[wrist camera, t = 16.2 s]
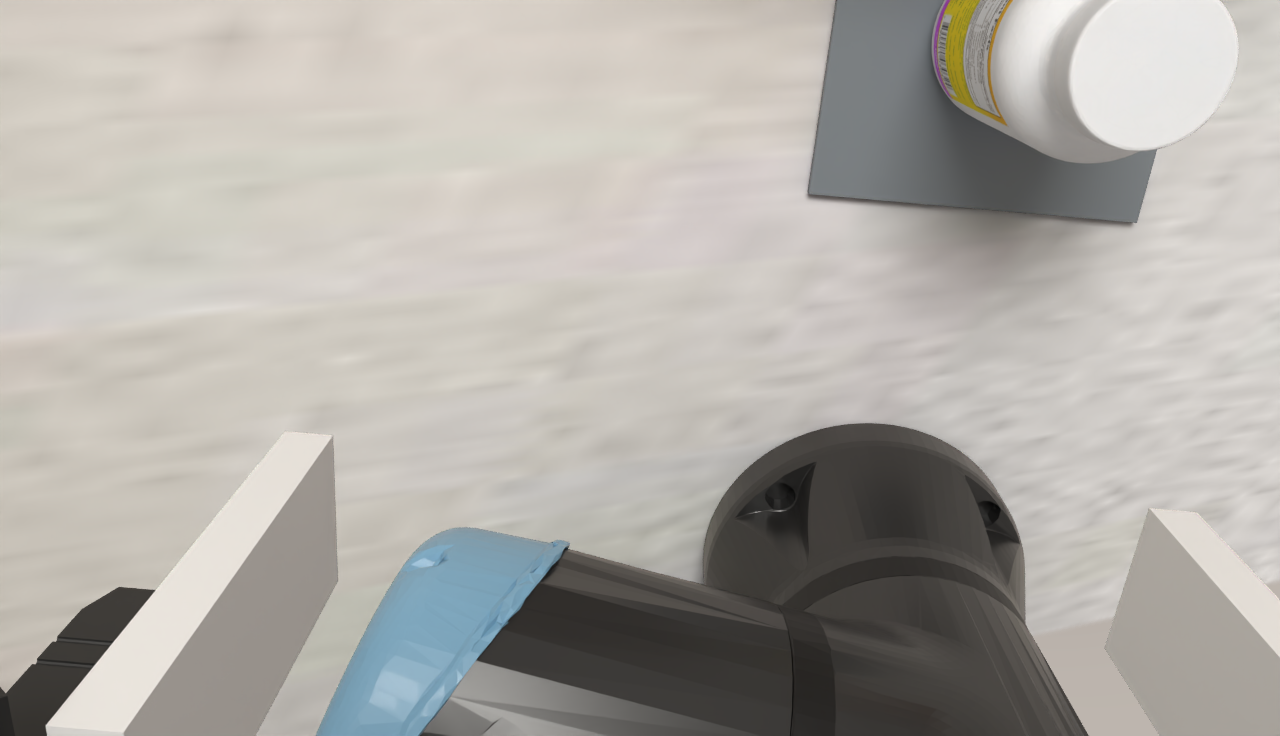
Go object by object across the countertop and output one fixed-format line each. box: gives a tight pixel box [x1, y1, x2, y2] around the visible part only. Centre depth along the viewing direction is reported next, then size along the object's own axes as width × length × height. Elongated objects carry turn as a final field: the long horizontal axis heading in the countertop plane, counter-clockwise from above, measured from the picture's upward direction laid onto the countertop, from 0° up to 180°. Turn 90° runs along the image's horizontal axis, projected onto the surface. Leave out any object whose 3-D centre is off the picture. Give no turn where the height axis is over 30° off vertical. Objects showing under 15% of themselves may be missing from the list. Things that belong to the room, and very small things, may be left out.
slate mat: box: [808, 0, 1157, 223], centre depth 40 cm, size 14×14×1 cm
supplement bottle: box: [932, 0, 1239, 164], centre depth 34 cm, size 7×7×13 cm
